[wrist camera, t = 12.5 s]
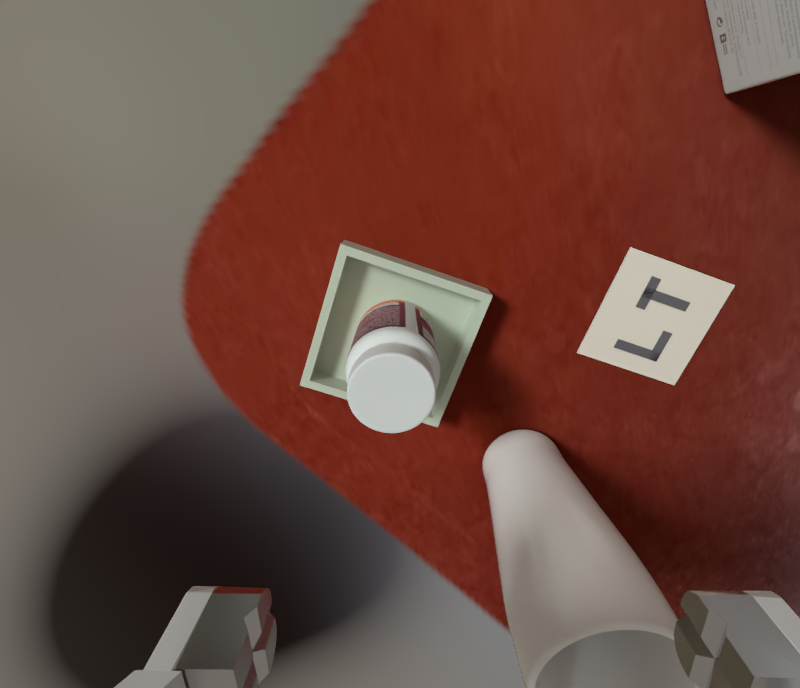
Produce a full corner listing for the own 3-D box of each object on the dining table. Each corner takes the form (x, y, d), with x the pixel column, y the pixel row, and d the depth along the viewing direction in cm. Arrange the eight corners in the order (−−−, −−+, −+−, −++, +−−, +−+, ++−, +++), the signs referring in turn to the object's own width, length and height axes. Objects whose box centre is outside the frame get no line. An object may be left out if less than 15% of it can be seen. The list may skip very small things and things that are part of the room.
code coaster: (734, 285, 27) (735, 285, 26) (673, 384, 29) (675, 385, 29) (630, 246, 26) (631, 247, 26) (576, 352, 28) (577, 353, 28)
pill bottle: (346, 355, 28) (323, 422, 20) (371, 286, 26) (357, 329, 19) (416, 380, 28) (420, 454, 21) (445, 313, 27) (461, 366, 19)
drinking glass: (552, 402, 29) (690, 602, 15) (578, 481, 32) (720, 721, 17) (457, 435, 30) (503, 652, 16) (488, 509, 32) (552, 759, 18)
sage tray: (487, 288, 27) (492, 295, 25) (435, 412, 30) (437, 427, 28) (344, 239, 26) (340, 243, 24) (306, 372, 29) (299, 385, 27)
